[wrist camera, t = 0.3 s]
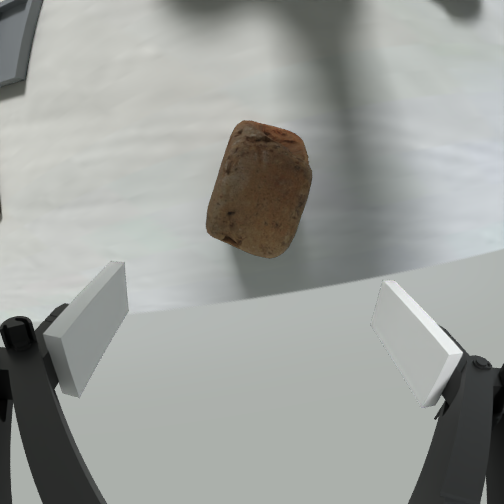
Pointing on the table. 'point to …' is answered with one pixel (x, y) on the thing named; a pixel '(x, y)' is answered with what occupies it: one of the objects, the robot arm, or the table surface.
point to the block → (260, 190)
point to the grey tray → (16, 38)
